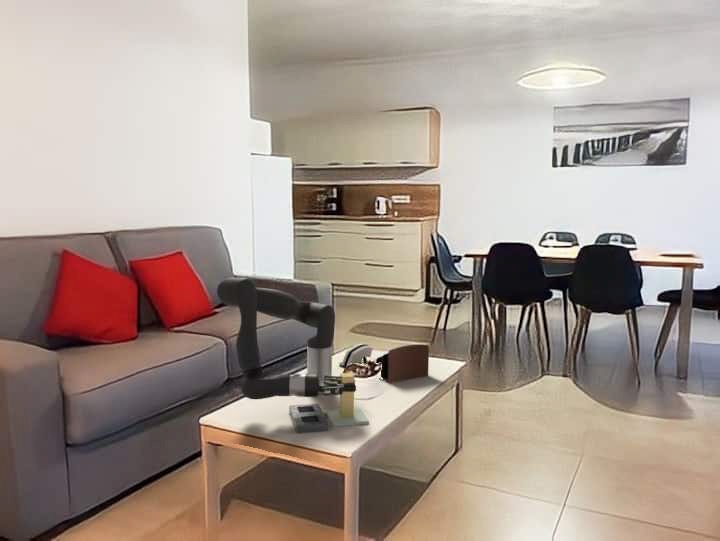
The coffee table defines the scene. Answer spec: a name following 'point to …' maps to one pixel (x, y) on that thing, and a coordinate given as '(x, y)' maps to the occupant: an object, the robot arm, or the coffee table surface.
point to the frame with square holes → (308, 418)
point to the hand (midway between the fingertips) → (355, 385)
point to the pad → (338, 421)
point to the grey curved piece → (356, 354)
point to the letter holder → (405, 363)
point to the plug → (347, 396)
